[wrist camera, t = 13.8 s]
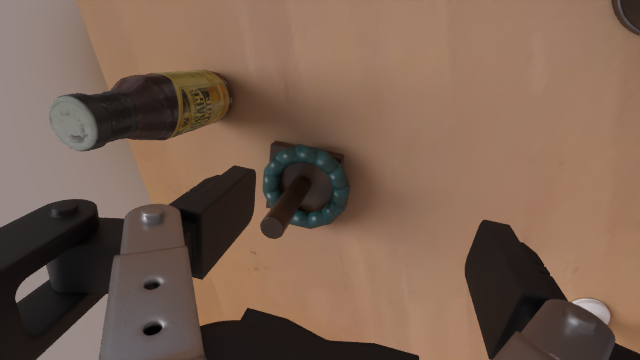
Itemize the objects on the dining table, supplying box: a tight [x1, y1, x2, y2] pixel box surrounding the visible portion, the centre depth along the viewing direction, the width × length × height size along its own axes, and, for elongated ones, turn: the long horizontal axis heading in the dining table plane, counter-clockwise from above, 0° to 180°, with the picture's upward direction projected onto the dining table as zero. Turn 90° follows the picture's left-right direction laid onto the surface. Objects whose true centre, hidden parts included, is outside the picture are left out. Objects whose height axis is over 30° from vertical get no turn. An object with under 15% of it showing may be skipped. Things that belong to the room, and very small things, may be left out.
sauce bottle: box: [49, 70, 232, 151], centre depth 32 cm, size 7×6×20 cm
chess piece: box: [571, 298, 610, 325], centre depth 37 cm, size 5×5×10 cm
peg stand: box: [260, 141, 344, 239], centre depth 37 cm, size 9×9×12 cm
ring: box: [263, 145, 350, 229], centre depth 41 cm, size 11×11×2 cm
